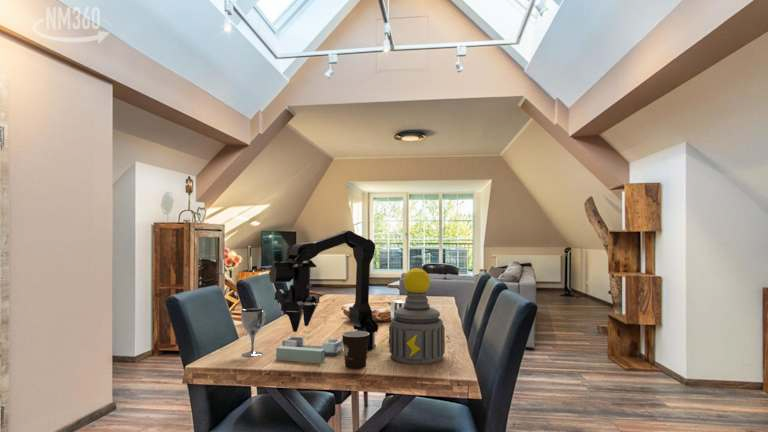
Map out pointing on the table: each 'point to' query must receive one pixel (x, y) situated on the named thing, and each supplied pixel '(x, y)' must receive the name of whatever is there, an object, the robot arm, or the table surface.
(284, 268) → the robot arm
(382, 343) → the table surface
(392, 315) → the beer glass
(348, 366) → the coffee mug
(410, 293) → the decorative lamp
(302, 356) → the rail
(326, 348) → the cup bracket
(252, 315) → the wine glass
